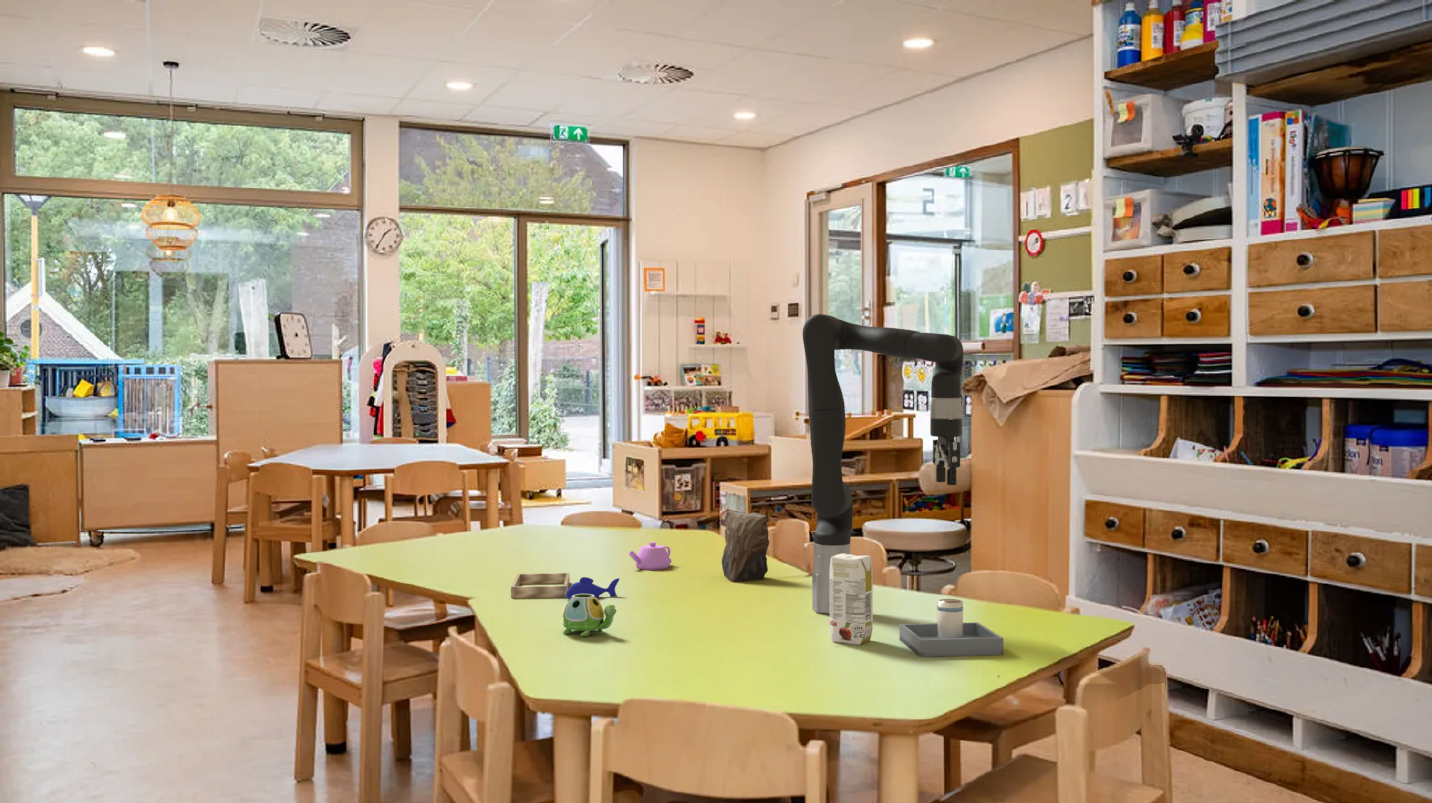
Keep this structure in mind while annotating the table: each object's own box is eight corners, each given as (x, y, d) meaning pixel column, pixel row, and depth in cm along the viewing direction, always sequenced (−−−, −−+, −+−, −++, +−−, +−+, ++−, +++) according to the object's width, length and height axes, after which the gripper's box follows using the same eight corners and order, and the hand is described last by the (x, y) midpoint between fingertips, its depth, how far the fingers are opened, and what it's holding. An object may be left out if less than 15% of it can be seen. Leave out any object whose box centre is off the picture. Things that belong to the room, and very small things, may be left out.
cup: (941, 645, 235) (941, 603, 235) (933, 640, 240) (933, 598, 240) (966, 645, 236) (966, 602, 236) (958, 639, 241) (958, 598, 241)
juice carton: (861, 646, 239) (861, 559, 238) (826, 642, 243) (825, 556, 243) (875, 640, 245) (875, 555, 245) (840, 635, 250) (840, 552, 249)
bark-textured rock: (720, 578, 328) (720, 511, 328) (761, 576, 330) (761, 510, 330) (730, 585, 315) (730, 515, 315) (772, 583, 318) (772, 514, 318)
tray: (919, 657, 229) (919, 640, 229) (899, 639, 245) (899, 624, 245) (1003, 654, 231) (1003, 638, 231) (977, 637, 247) (977, 622, 247)
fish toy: (571, 607, 284) (571, 580, 284) (561, 602, 291) (561, 576, 291) (625, 601, 291) (625, 576, 291) (614, 597, 298) (614, 572, 298)
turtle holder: (606, 639, 247) (605, 601, 247) (555, 634, 252) (555, 597, 252) (623, 631, 255) (623, 594, 255) (574, 626, 260) (574, 590, 260)
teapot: (679, 572, 338) (679, 542, 338) (637, 577, 330) (637, 546, 330) (662, 568, 347) (662, 538, 347) (620, 572, 338) (620, 542, 338)
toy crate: (511, 602, 290) (511, 587, 290) (517, 588, 312) (517, 573, 312) (566, 601, 292) (566, 586, 292) (569, 587, 313) (569, 573, 313)
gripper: (922, 416, 273) (922, 481, 273) (939, 417, 259) (939, 486, 259) (951, 416, 274) (952, 481, 274) (970, 417, 260) (970, 486, 260)
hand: (946, 483), depth 267 cm, fingers open, 8 cm apart
